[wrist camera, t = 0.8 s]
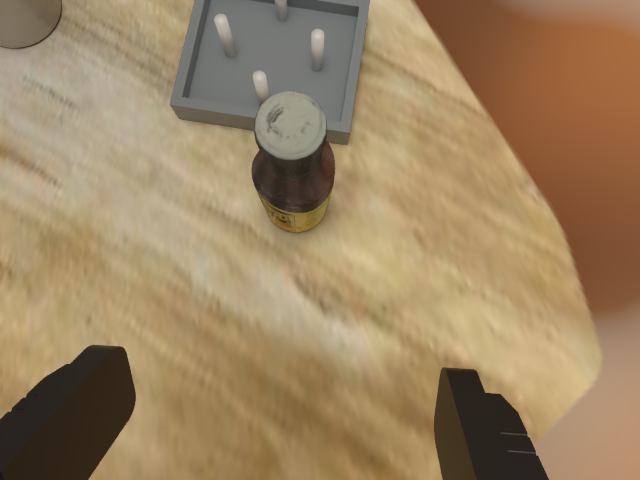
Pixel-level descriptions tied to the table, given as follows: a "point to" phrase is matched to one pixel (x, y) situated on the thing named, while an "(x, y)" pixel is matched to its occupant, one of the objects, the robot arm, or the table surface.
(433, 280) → the table surface
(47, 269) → the table surface
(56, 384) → the robot arm
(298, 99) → the sauce bottle
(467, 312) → the table surface
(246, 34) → the pin tray
